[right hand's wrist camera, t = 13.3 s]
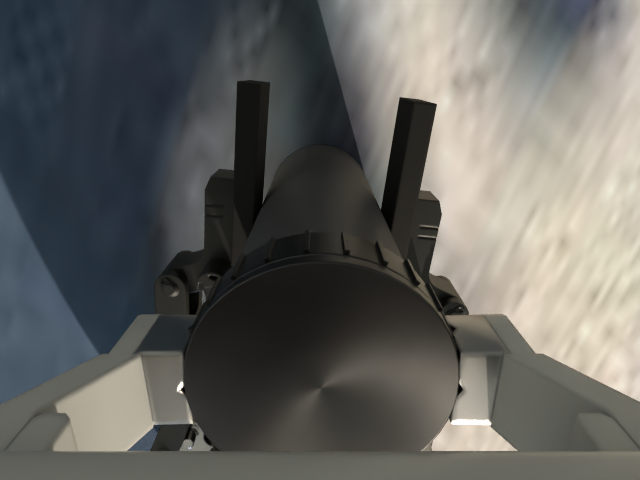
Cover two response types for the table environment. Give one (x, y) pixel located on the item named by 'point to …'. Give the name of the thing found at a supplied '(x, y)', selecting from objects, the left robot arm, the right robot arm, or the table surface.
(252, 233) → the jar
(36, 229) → the table surface
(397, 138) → the left robot arm
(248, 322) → the lid
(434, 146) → the table surface
